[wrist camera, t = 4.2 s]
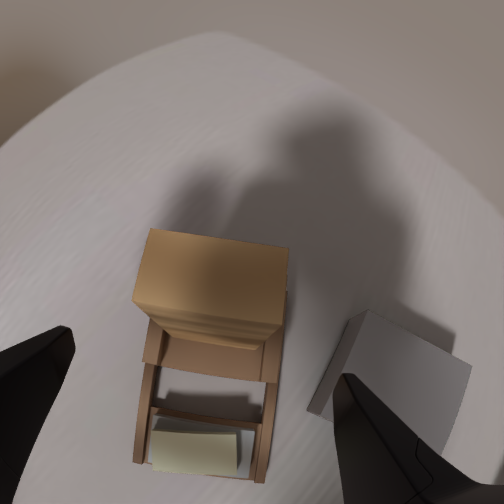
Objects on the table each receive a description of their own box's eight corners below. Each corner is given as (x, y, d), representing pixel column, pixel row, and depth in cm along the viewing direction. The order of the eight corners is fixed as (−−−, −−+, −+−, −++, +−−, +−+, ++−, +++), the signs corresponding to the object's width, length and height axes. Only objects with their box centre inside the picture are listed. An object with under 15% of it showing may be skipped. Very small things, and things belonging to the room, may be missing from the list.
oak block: (255, 349, 16) (282, 324, 9) (172, 336, 16) (131, 300, 9) (260, 306, 17) (288, 248, 10) (180, 294, 17) (150, 228, 10)
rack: (262, 478, 16) (271, 500, 12) (136, 458, 15) (117, 474, 12) (284, 295, 21) (298, 275, 17) (165, 277, 20) (154, 254, 17)
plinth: (416, 452, 16) (439, 457, 14) (306, 410, 18) (320, 415, 15) (448, 370, 19) (472, 365, 16) (349, 319, 20) (367, 309, 18)
